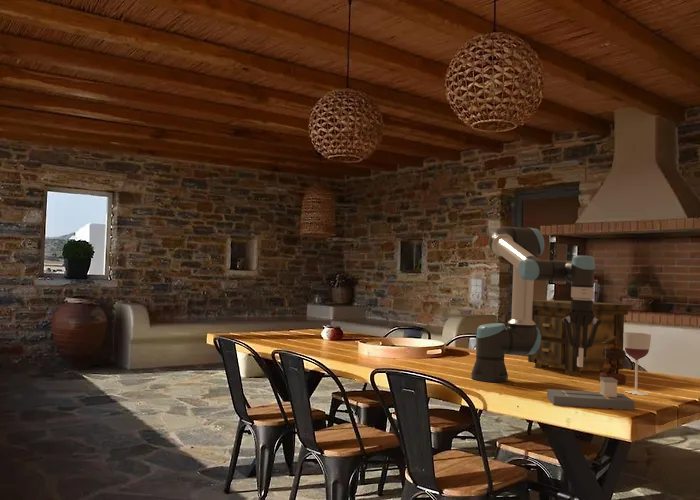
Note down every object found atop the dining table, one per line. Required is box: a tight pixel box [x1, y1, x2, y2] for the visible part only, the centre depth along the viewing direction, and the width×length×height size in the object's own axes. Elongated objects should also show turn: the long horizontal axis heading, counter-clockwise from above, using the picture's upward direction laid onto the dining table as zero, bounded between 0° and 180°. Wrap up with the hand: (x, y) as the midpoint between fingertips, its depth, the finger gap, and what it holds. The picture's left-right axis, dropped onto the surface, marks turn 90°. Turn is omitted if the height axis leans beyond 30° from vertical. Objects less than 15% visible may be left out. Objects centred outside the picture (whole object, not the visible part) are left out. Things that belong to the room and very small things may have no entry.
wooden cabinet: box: [527, 299, 633, 376], centre depth 302 cm, size 35×35×33 cm
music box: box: [599, 336, 627, 385], centre depth 270 cm, size 15×11×20 cm
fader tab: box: [599, 376, 618, 397], centre depth 219 cm, size 4×6×6 cm
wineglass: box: [623, 332, 652, 396], centre depth 245 cm, size 9×10×23 cm
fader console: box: [546, 388, 635, 411], centre depth 220 cm, size 26×14×3 cm, turn 82°
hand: (579, 366), depth 221 cm, fingers closed
